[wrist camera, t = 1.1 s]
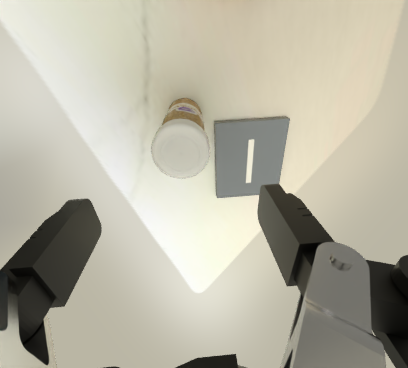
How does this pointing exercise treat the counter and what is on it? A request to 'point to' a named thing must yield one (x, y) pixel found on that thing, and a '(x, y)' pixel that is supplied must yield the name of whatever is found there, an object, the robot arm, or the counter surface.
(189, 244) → the counter surface
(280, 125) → the slate board
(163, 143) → the sprinkles bottle
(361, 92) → the counter surface
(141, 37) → the counter surface
